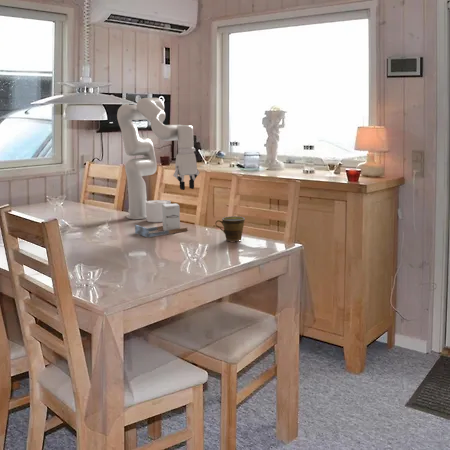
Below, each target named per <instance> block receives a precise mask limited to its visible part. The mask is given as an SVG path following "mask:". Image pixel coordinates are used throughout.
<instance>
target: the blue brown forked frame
mask: <svg viewBox="0 0 450 450" xmlns="http://www.w3.org/2000/svg"><path fill="white" fill-rule="evenodd" d="M159 230H161V231H159ZM154 231H156V232H154ZM188 231H189V230H188V227H186V226H185V227H180V229H173V230H167V231H164V230H163V225H160V226H159V225H158V226H153V227H144V226H141V225H138V224H134V233H135V234H137V235H138V236H139V235H140V236H142V237H145V238H151V237H158V236H163V235H169V234H170V235H171V234H175V233H181V232H183V233H184V232H188ZM149 232H150V233H149Z"/></svg>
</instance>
